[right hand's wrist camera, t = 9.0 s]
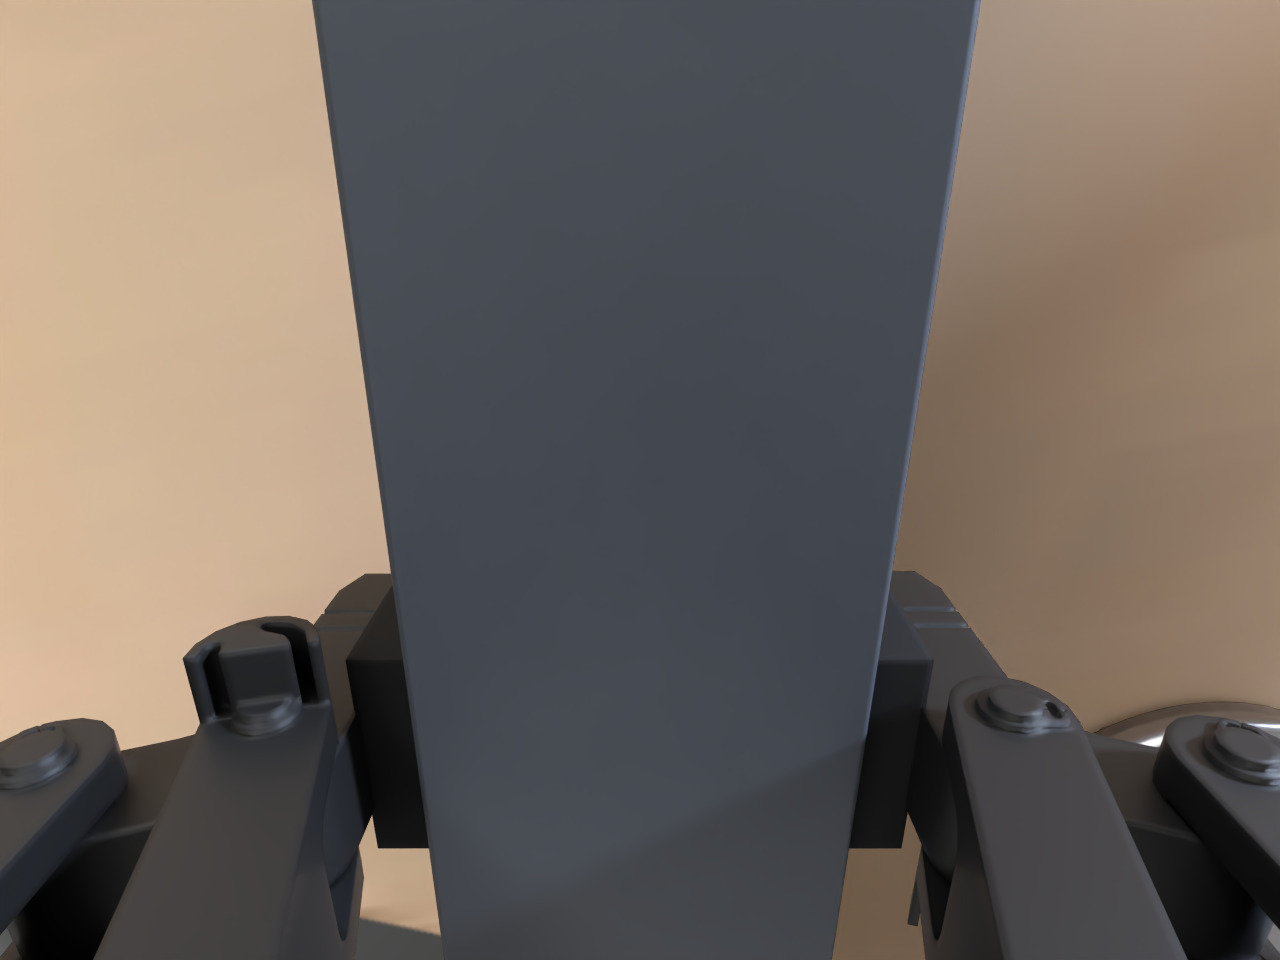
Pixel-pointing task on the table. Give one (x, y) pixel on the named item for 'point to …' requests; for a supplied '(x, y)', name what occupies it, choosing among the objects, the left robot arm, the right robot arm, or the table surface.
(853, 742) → the post
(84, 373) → the table surface
